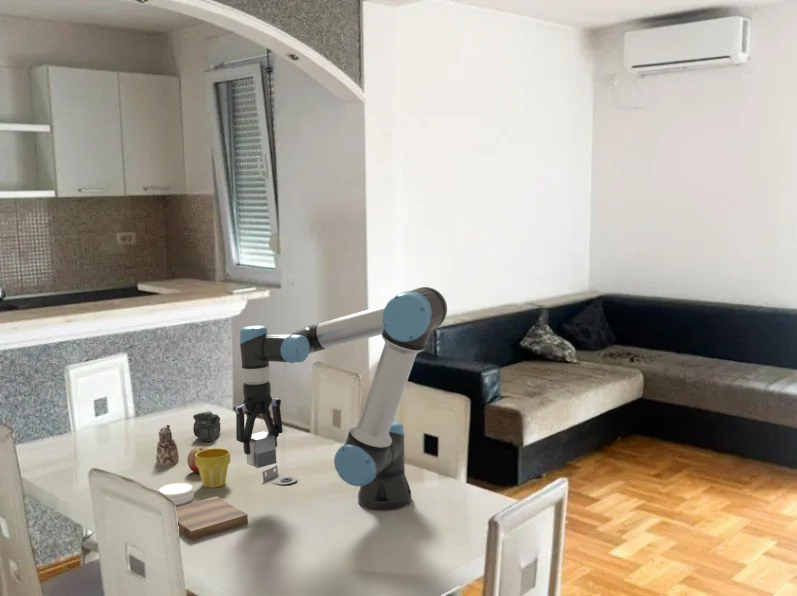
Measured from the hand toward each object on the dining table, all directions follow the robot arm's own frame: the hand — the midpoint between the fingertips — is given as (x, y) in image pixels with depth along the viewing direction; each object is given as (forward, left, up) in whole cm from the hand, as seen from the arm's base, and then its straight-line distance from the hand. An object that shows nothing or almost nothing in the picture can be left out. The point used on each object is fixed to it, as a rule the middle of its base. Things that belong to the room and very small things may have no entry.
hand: (261, 461), depth 227 cm
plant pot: (+24, +3, -12) cm, 28 cm away
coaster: (+20, +17, -13) cm, 30 cm away
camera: (+70, -17, -13) cm, 73 cm away
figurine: (+54, +5, -12) cm, 56 cm away
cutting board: (-1, +18, -12) cm, 22 cm away
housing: (0, 0, 0) cm, 0 cm away
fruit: (+37, +1, -13) cm, 39 cm away
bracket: (+13, -14, -13) cm, 23 cm away
